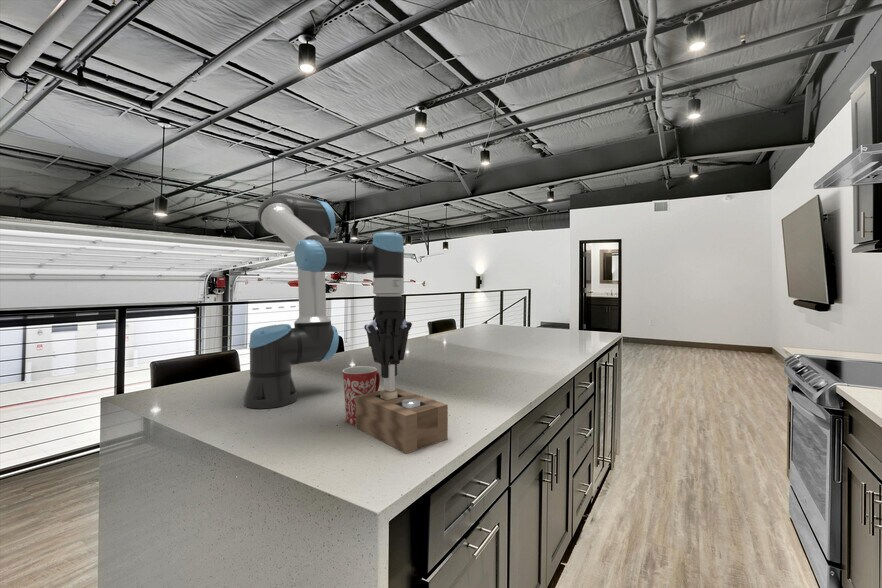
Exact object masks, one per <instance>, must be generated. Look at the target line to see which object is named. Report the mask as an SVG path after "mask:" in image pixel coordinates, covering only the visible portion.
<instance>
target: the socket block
mask: <svg viewBox="0 0 882 588" xmlns="http://www.w3.org/2000/svg"><path fill="white" fill-rule="evenodd" d="M395 390H397V391H398V398H394V399H389V400H385V399H382V398H381V390H378V391H376V392H371V393H366V394H361V395H356V424H355V428H356V429H358V430H359V431H361V432H363V433H366V435H367V434H368V435H369V436H372V437H373V438H375V439H377V440H379V441H381V442H382V443H384V444H386V445H389V446H390V447H392V448H394V449H396V450H398V451H400V452H401V453H404V454H410V453H412V452H415V451H417V450H421V449H423V448H426V447H429V446H432V445H435V444H437V443H441V442H443V441H446V440H448V439H449V437H448V434H449V432H448V431H449V430H448V428H449V426H448V417H449V416H448V413H449V412H448V411H449V409H448V406H449V405H448V403H443V402H441V401H437V400H434V399H432V398H429V397H425V396H423V395H419V394H416V393H412V392H410V391H406V390H404V389H401V388H398V387H395ZM405 399H418V400H420V406H417V407H414V408H410V409H409V408H406V407H403V406H402V401H403V400H405Z"/></svg>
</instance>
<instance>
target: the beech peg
mask: <svg viewBox="0 0 882 588" xmlns="http://www.w3.org/2000/svg"><path fill="white" fill-rule="evenodd" d="M380 391H381V398H382V399H385V400H389V399H394V398H398V391H397V390H395V391H391V392H389V391H386V390H384V389H381V390H380Z"/></svg>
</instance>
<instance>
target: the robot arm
mask: <svg viewBox="0 0 882 588" xmlns="http://www.w3.org/2000/svg"><path fill="white" fill-rule="evenodd" d="M257 219H258V221H259V223H260V225H261V227H263V228H264V230H266V231H267V232H268V233H270V234H273V235H276V236H277V237H278V238H279V239H280V240H281V241H282V242H284V243H285V244H286V245H287V246H288V247H289V248H290V249H291V250H292V251H293V252H294V262H295V263H296V267H297V280H298V281H297V285H298V286H297V287H298V289H297V290H298V318H297V319H296V320H295V321H294V322H293V323H294V324H293V325H294V328H293V327H292V326H291V325H290V324H289V323H288V324H287V323H281V324H280V323H279V324H272V325H266V326H261V327H258V328H255V329H254V330H252V331H251V333H250V335H249V343H248V344H249V345H248V347H249V381H248V384H247V387H246V390H245V392H244V395H243V407H246V408H249V409H256V410H257V409H272V408H273V409H274V408H278V407H284V406H287V405H291V404H293V403H295V402H296V401H298V390H297V388H296V385H295V382H294V380H293V377H292V366H294V365H295V366H296V365H300V364H308V363H321V362H323V361H328V360H330V359H332V358H333V357H335V354H336V352H337V350H338V347H339V341H340V339H339V338H340V337H339V332H338V330H337V329H338V328H337V327H336V326H334V325H332V320H331V319H330V318H329V317H328V316H327V298H326V296H327V295H326V273H349V274H350V273H352V274H358V275H360V274H361V275H366V274H373V276H372V277H373V279H372V281H373V284H372V285H373V286H372V287H373V288H372V290H373V291H372V293H373V294H374V295H375V296H374V297H373V299H372V300H373V305H372V306H373V311H374V312H373V313H374V314H373V316H372V321H371V322H369V324H365V325H364V327H363V328H364V330H365V331H366V333H367V335H368V339H369V344H370V349H371V353H372V354H371V355H372V358H373V362H375V363H377V364H379V365H380V366H381V367H380V368H381V369H380V370H381V376H380V377H381V378H383V390H386V391H389V392H391V391H395V388H396V378H395V377H397V375H398V365H400V362H401V361H404V359H405V353H406V349H407V343H408V338H409V332H410V330H411V328H412V325H413V323H412V322H410V321H407V320H406V319H405V316H404V313H403V311H404V310H405V298H404V296H402V295H404V293H405V289H404V288H405V287H404V286H405V283H404V282H405V281H404V280H405V279H404V273H405V272H404V270H405V267H404V264H405V263H404V262H405V260H404V257H405V256H404V255H405V249H404V248H405V247H404V236H403V235H402V234H400V233H397V232H392V231H391V232H390V231H389V232H385V231H384V232H377V233H375V234H374V235H373V238H372V242H371V243H370V244H369V243H368V244H359V243H347V242H337V241H329V238H330V237H331V236H332V235H333V234H334V232H335V227H336V217H335V212H334V210H333V208H332V206H331V205H330V204H329V203H328V202H325V201H322V200H318V199H315V198H314V199H312V198H305V197H298V196H291V195H287V194H276V195H272V196H269V197H268V198H266V199H265V200H263V202H261V204H260V205H259V207H258V209H257ZM377 330H378V331H377Z"/></svg>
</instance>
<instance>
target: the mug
mask: <svg viewBox="0 0 882 588" xmlns="http://www.w3.org/2000/svg"><path fill="white" fill-rule="evenodd" d="M341 373H342V377H343V390H344V393H343V394H344V405H345V407H344V408H345V419H346V420H345V421H346V422H347V423H348V424H351V425H356V395H361V394H366V393H371V392H376V391H379V387H380V384H381V383H380V382H381V379H380V378H381V376H380V373H379V372H378V368H376V367H375V366H367V365H365V366H364V365H359V366H358V365H357V366H350V367H346V368H344V369H342V371H341Z"/></svg>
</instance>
